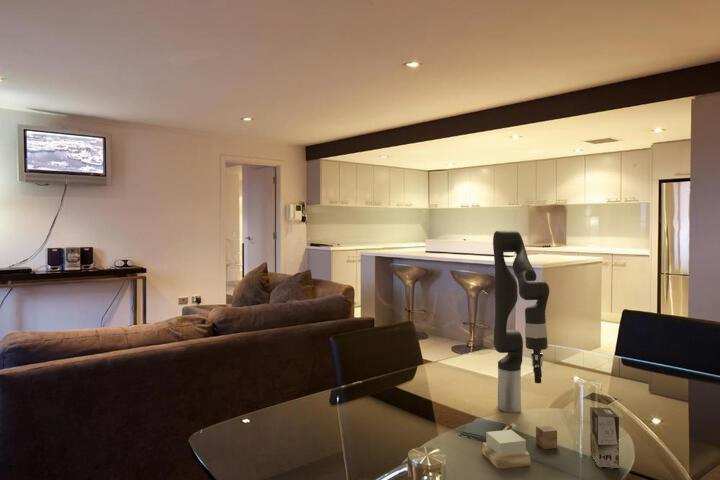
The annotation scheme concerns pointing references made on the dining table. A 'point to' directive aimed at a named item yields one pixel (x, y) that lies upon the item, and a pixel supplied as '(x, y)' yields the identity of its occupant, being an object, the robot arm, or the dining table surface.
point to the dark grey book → (483, 428)
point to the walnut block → (546, 436)
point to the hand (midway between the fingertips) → (538, 380)
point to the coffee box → (604, 436)
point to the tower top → (506, 442)
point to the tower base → (506, 458)
